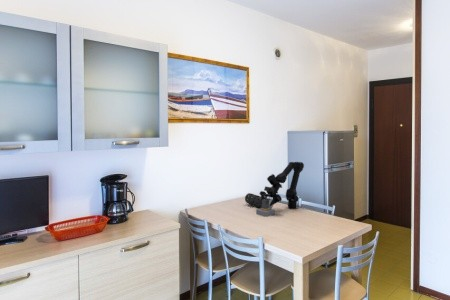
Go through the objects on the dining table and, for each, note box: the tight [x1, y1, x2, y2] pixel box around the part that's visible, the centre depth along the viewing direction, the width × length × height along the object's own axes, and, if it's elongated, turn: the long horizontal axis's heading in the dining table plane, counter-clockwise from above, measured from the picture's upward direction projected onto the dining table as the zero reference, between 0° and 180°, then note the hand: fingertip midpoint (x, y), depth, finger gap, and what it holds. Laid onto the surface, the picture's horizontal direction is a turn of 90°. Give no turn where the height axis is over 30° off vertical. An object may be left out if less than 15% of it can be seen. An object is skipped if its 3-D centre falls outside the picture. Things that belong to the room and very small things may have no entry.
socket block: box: [255, 207, 276, 218], centre depth 236 cm, size 10×10×4 cm
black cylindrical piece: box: [244, 192, 274, 209], centre depth 259 cm, size 10×28×10 cm, turn 31°
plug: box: [262, 199, 269, 211], centre depth 236 cm, size 4×4×11 cm
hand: (265, 205), depth 236 cm, fingers open, 9 cm apart
